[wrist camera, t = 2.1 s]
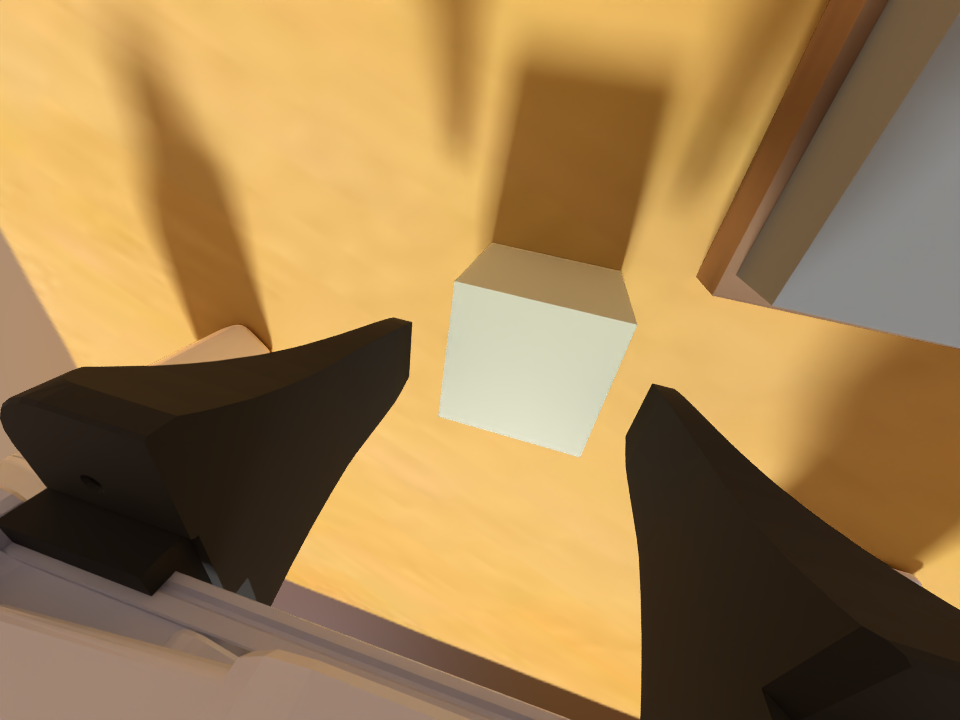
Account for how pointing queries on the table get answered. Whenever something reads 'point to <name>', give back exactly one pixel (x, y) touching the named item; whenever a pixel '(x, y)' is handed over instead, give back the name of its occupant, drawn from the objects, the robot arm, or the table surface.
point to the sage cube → (534, 346)
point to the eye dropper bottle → (209, 348)
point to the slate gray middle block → (878, 189)
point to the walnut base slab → (789, 146)
